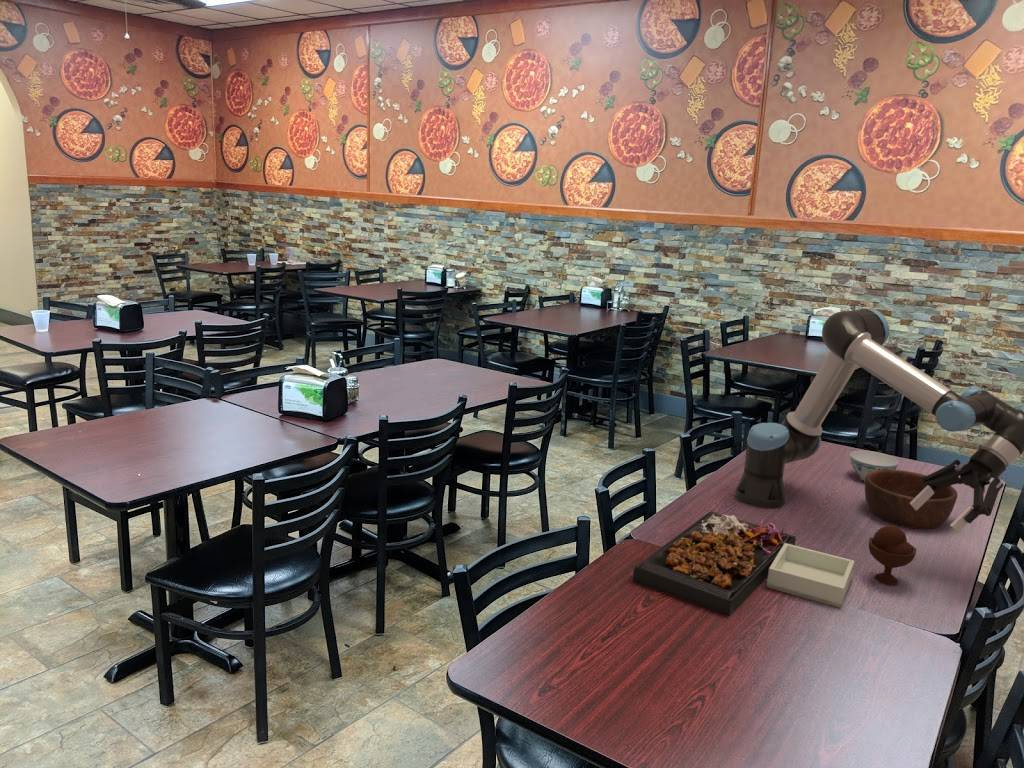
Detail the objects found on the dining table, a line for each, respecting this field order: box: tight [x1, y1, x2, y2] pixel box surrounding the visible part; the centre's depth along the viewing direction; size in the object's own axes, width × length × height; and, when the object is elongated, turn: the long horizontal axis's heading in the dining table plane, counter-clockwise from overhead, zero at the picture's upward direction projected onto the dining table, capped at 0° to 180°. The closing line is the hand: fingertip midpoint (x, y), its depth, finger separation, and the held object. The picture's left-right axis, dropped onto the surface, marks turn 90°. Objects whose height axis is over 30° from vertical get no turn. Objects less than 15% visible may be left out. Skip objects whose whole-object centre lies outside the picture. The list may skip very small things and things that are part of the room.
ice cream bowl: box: [868, 524, 917, 587], centre depth 199 cm, size 11×11×15 cm
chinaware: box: [849, 450, 900, 482], centre depth 269 cm, size 15×15×8 cm
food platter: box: [632, 511, 797, 617], centre depth 204 cm, size 45×25×10 cm, turn 143°
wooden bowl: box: [864, 469, 958, 530], centre depth 240 cm, size 25×25×10 cm
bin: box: [766, 543, 855, 609], centre depth 197 cm, size 17×17×5 cm
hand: (932, 517), depth 199 cm, fingers open, 13 cm apart
